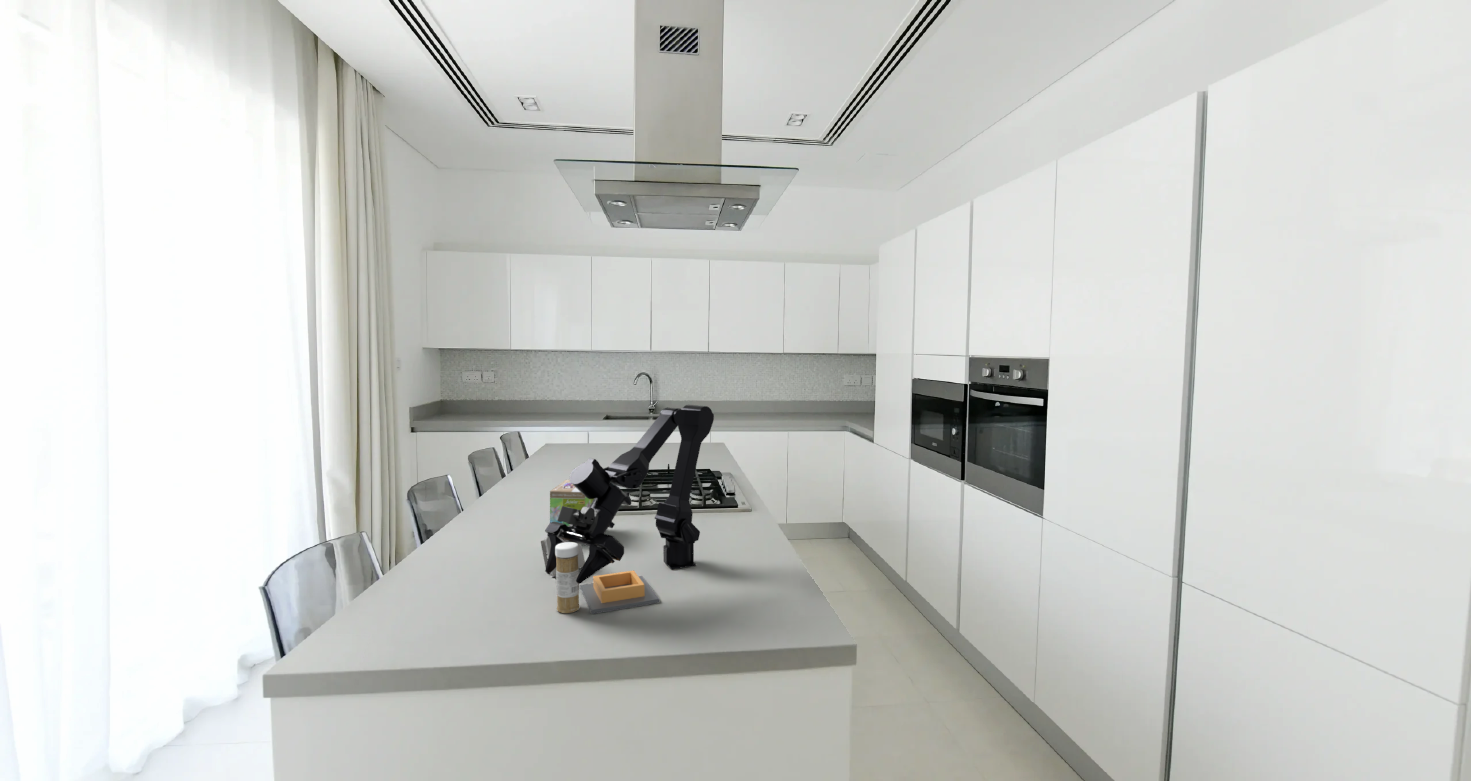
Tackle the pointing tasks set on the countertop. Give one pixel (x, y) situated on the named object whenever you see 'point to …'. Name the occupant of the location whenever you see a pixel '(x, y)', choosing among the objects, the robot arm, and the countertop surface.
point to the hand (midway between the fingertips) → (562, 577)
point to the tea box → (566, 500)
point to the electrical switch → (546, 551)
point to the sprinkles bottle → (567, 577)
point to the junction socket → (617, 592)
